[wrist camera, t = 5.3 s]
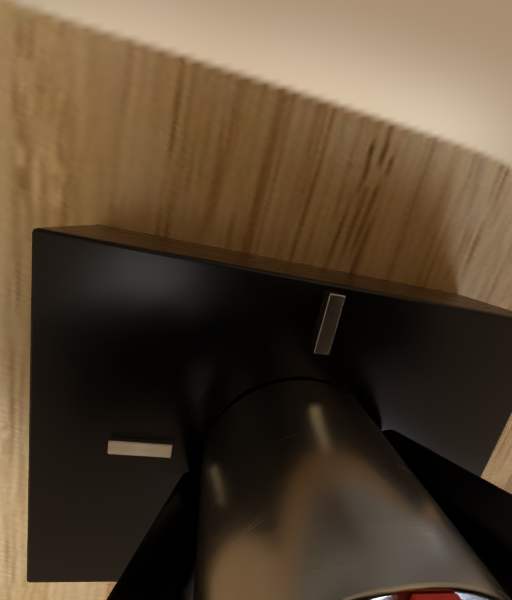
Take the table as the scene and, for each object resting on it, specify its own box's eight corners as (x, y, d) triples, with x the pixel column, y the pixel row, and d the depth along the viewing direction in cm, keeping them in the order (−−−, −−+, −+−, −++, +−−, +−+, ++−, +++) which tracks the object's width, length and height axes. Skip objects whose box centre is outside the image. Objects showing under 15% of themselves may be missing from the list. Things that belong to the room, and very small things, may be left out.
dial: (345, 525, 8) (474, 832, 4) (188, 520, 7) (155, 893, 3) (395, 389, 7) (635, 619, 3) (218, 368, 6) (222, 638, 2)
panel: (78, 481, 10) (21, 592, 7) (96, 223, 8) (24, 227, 5) (382, 496, 12) (435, 585, 9) (461, 294, 10) (563, 327, 7)
